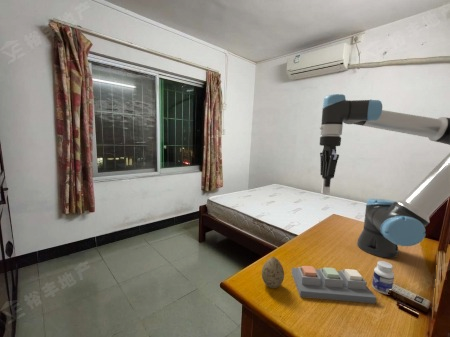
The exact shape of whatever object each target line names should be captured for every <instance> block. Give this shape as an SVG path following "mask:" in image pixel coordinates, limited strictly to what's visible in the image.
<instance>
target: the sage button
mask: <svg viewBox="0 0 450 337" xmlns="http://www.w3.org/2000/svg"><path fill="white" fill-rule="evenodd" d="M322 269H323V273H324V275H325V277H326V278H334V279H339V274H338V273H337V271H338V270H337V269H336V268H334V267H323V268H322Z"/></svg>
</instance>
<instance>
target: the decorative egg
mask: <svg viewBox="0 0 450 337" xmlns="http://www.w3.org/2000/svg"><path fill="white" fill-rule="evenodd" d="M261 279H262V281H263V283H264V284H265V286H267V287H269V288H271V289H276V288H279V287H280V286H281V285H282V284H283V282H284V280H285V269H284V268H283V265H282V263H281V262H280V261H279V259H278V258H277V257H275V256H272V257H270V258H268V259H267V260H266V261H265V262H264V264H263V265H262V269H261Z"/></svg>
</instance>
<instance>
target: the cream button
mask: <svg viewBox="0 0 450 337" xmlns="http://www.w3.org/2000/svg"><path fill="white" fill-rule="evenodd" d="M344 270H345V272H344V274H345V275H346V276H347V277H348V279H349V280H359V281H362V277H363V276H362V275H361V273H359V271H358V270H357V269H349V268H344Z"/></svg>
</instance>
